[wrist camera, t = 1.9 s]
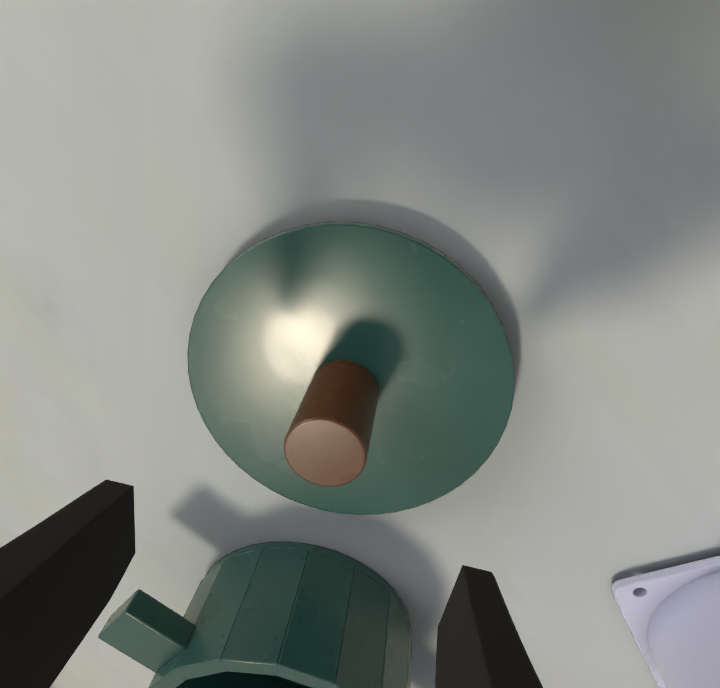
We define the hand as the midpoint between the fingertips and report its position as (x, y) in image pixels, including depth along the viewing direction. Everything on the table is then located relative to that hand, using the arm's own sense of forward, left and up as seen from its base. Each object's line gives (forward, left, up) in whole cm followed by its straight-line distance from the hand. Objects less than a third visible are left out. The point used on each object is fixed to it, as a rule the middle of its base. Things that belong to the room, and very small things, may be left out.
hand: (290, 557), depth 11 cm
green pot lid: (0, 0, -8) cm, 8 cm away
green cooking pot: (+9, +11, -8) cm, 16 cm away
